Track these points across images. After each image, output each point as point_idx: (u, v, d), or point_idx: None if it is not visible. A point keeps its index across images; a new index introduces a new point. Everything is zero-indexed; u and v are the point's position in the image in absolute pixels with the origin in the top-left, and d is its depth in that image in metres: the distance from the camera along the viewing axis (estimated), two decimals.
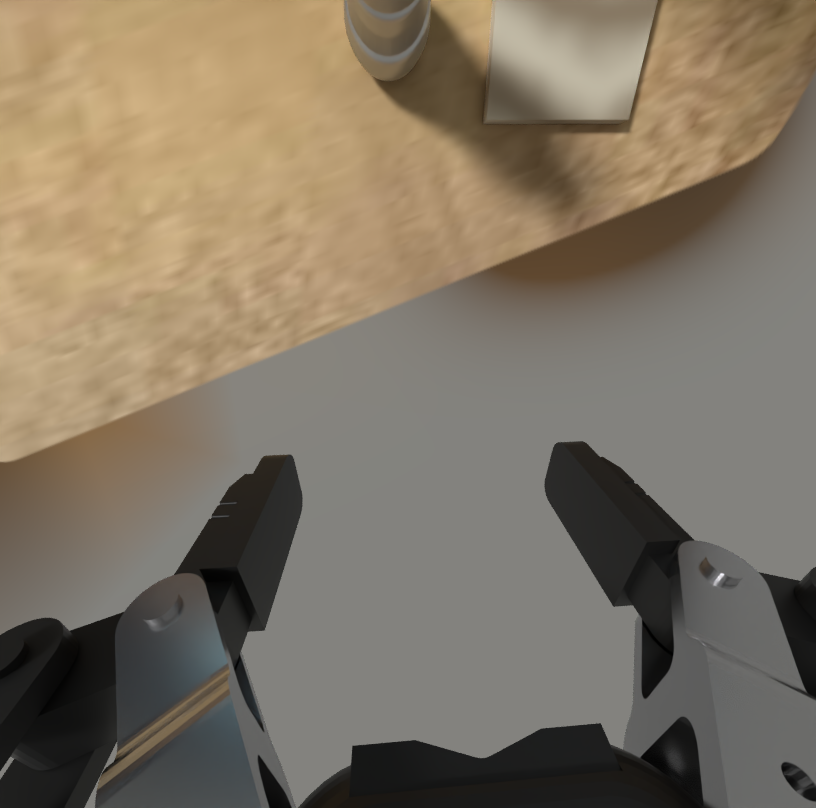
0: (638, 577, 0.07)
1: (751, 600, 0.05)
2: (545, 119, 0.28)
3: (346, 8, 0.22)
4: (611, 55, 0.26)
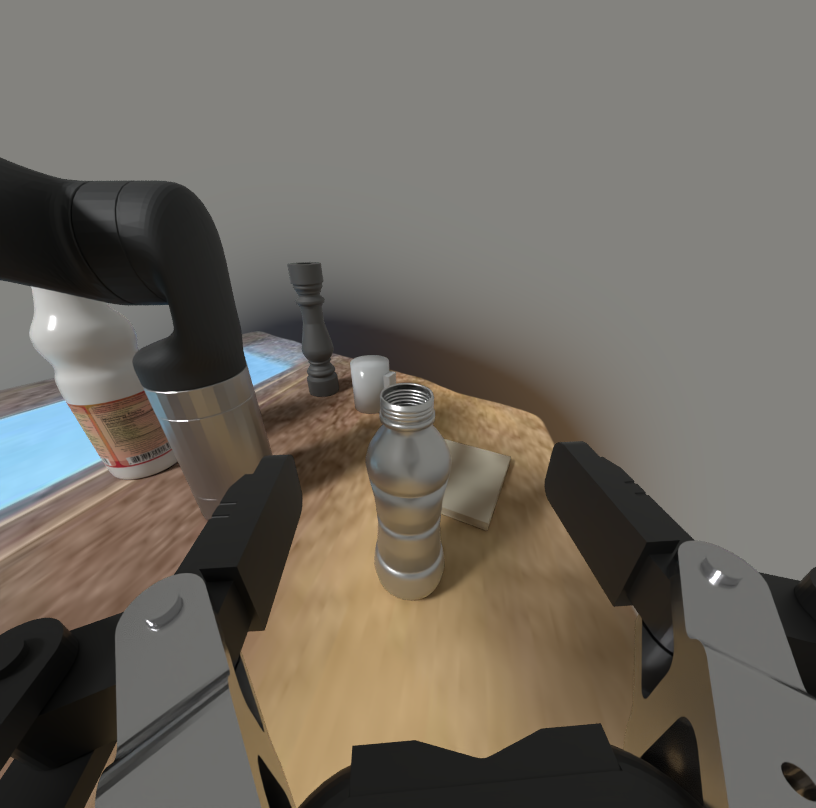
0: (638, 577, 0.07)
1: (751, 600, 0.05)
2: (498, 492, 0.39)
3: (398, 574, 0.26)
4: (477, 460, 0.44)
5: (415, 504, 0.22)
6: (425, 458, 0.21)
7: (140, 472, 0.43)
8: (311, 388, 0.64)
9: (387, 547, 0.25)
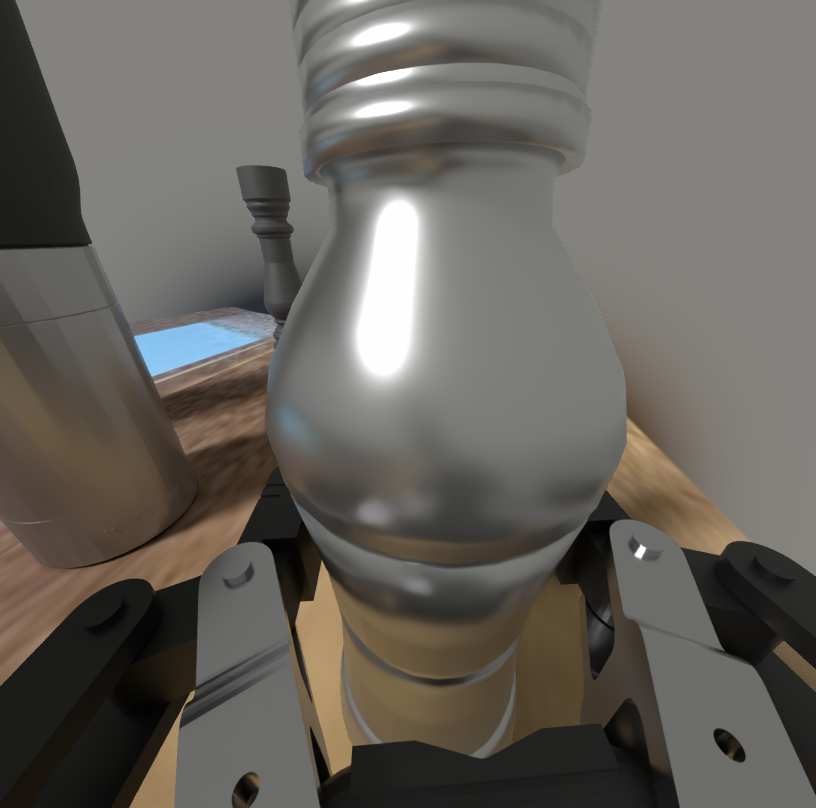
0: (580, 555, 0.07)
1: (667, 570, 0.05)
2: None
3: None
4: None
5: (479, 592, 0.04)
6: (556, 340, 0.03)
7: None
8: None
9: (365, 687, 0.08)
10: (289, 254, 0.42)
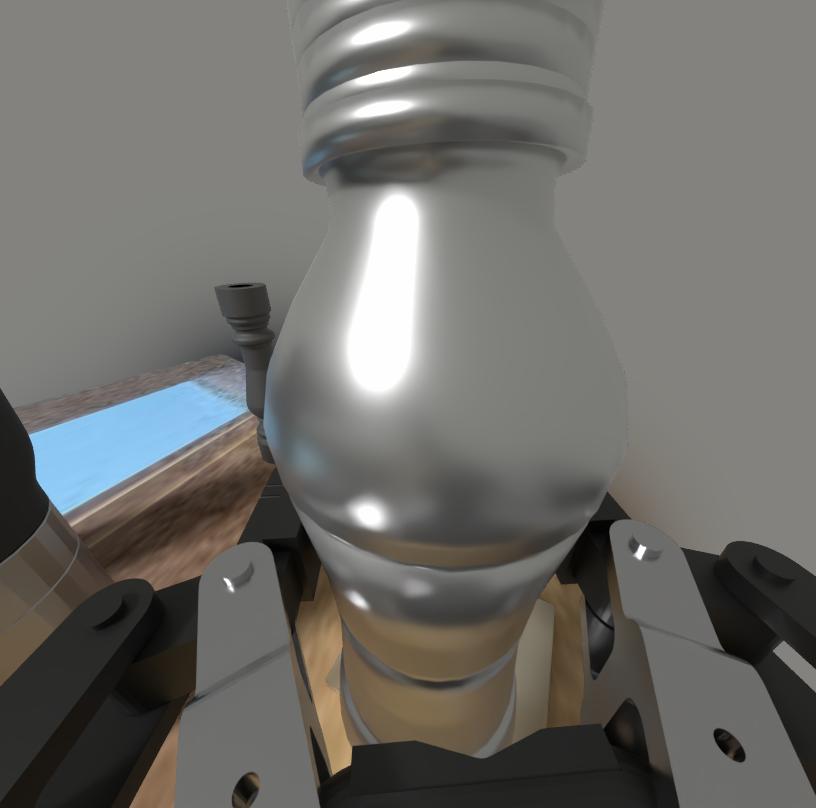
0: (580, 555, 0.07)
1: (667, 570, 0.05)
2: (547, 710, 0.22)
3: None
4: None
5: (478, 595, 0.04)
6: (557, 342, 0.03)
7: None
8: (262, 452, 0.47)
9: (364, 689, 0.08)
10: None
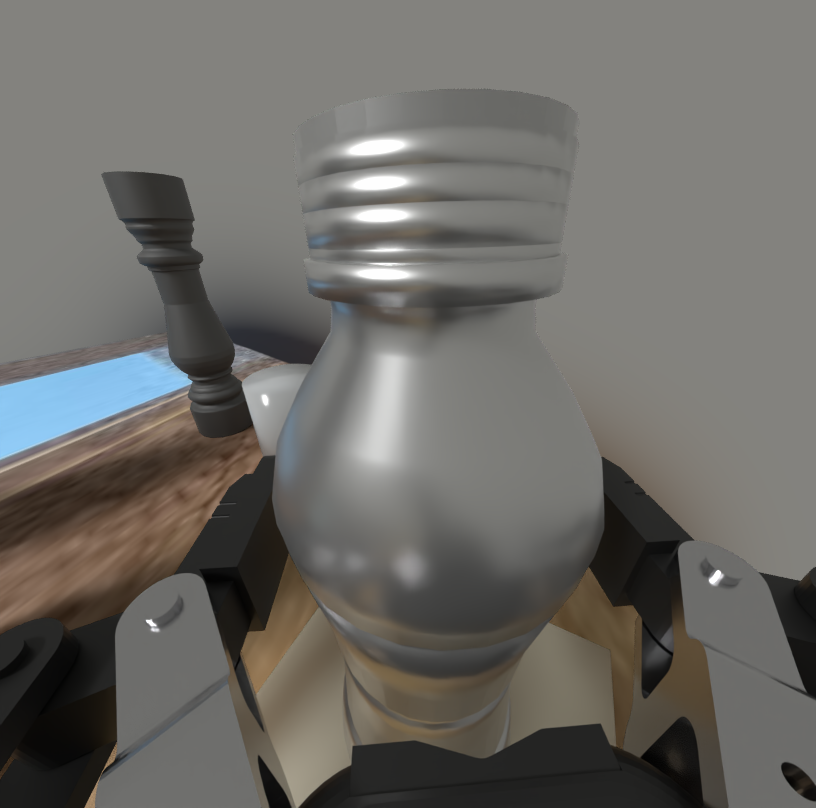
0: (638, 577, 0.07)
1: (751, 600, 0.05)
2: None
3: None
4: (519, 667, 0.15)
5: (467, 667, 0.05)
6: (533, 463, 0.04)
7: None
8: (196, 423, 0.36)
9: (366, 722, 0.09)
10: (197, 291, 0.31)
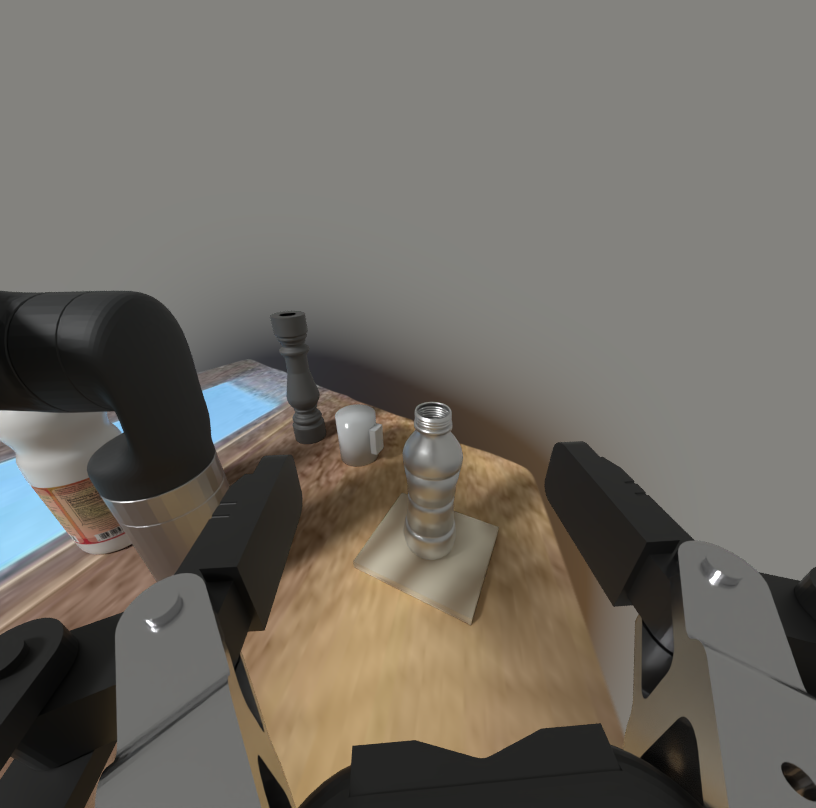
0: (638, 577, 0.07)
1: (751, 600, 0.05)
2: (484, 575, 0.37)
3: (423, 539, 0.36)
4: (463, 531, 0.42)
5: (438, 485, 0.32)
6: (446, 453, 0.31)
7: (109, 547, 0.41)
8: (296, 435, 0.63)
9: (416, 519, 0.35)
10: (306, 366, 0.57)
